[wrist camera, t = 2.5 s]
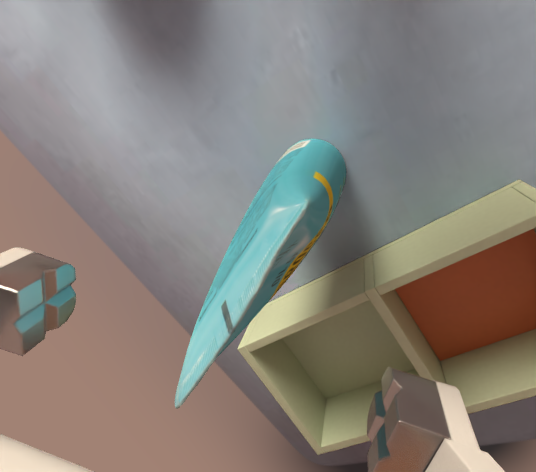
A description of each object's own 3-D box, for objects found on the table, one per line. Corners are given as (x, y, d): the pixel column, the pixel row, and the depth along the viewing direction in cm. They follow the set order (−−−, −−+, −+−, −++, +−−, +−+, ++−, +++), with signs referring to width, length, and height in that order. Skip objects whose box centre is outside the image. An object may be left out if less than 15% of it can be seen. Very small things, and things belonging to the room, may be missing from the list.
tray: (519, 178, 24) (562, 203, 19) (588, 312, 26) (644, 366, 21) (256, 308, 32) (236, 349, 27) (324, 401, 34) (317, 455, 29)
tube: (319, 228, 28) (249, 452, 11) (263, 199, 28) (106, 373, 11) (369, 139, 25) (386, 251, 8) (306, 107, 25) (181, 145, 8)
